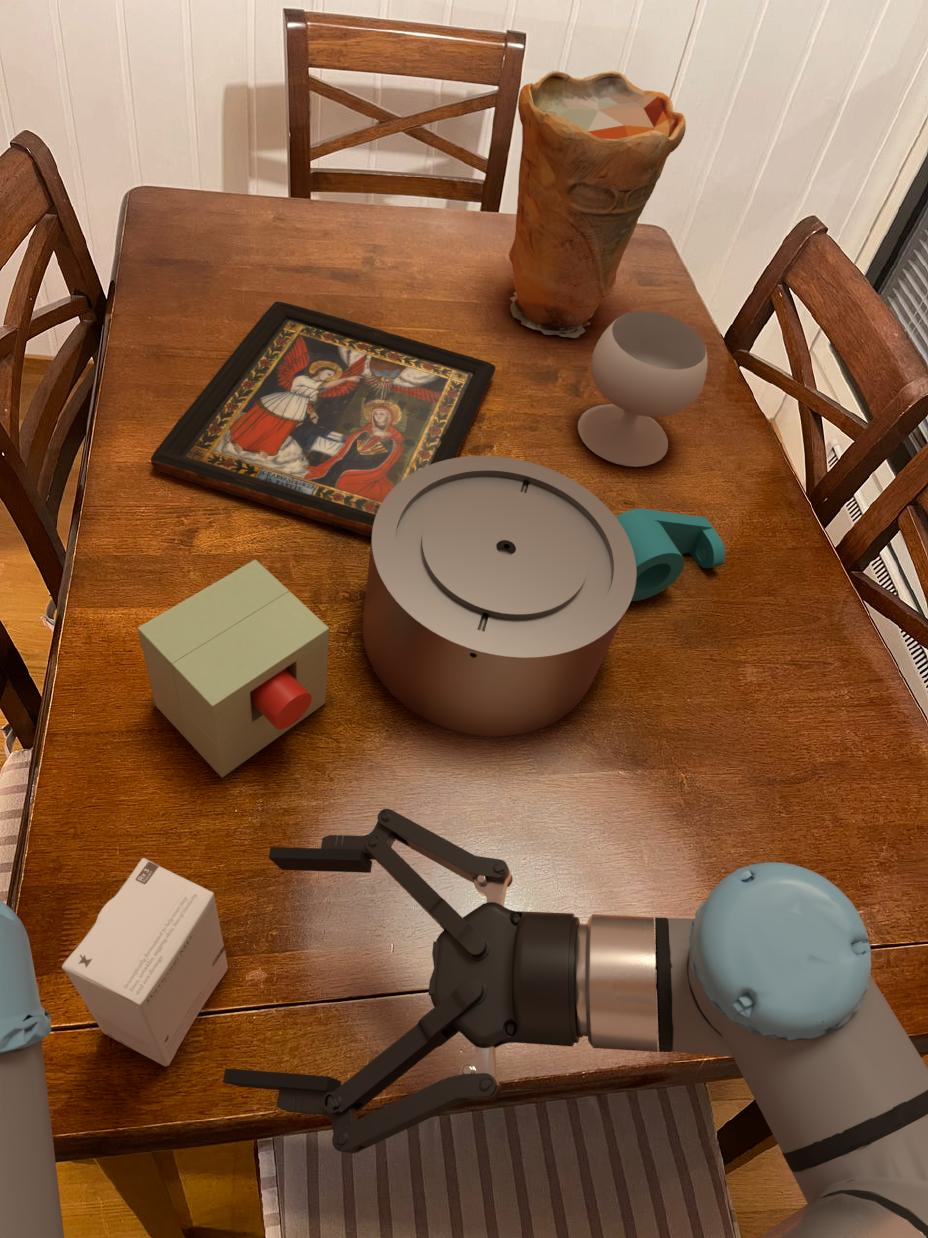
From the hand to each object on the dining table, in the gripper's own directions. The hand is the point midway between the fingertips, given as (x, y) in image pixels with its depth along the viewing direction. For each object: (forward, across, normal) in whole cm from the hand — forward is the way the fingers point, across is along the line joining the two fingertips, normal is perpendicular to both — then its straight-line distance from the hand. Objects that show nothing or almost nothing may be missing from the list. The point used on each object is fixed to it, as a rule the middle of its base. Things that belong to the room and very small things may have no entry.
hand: (255, 961), depth 58 cm
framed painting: (+11, +67, -17) cm, 70 cm away
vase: (-14, +100, -29) cm, 105 cm away
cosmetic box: (+11, -1, -10) cm, 14 cm away
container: (-9, +38, -20) cm, 44 cm away
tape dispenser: (-27, +50, -28) cm, 63 cm away
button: (+6, +23, -7) cm, 25 cm away
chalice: (-24, +73, -29) cm, 82 cm away
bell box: (+12, +25, -12) cm, 30 cm away
